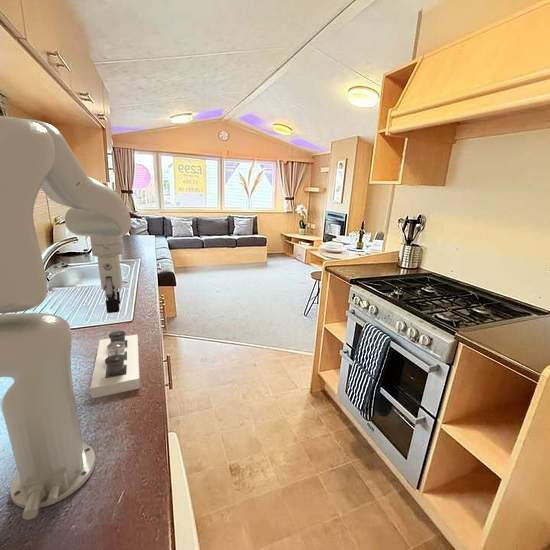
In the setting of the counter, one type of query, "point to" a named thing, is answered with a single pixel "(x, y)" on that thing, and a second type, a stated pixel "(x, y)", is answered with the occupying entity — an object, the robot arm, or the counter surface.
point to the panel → (113, 385)
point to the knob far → (117, 336)
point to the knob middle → (116, 348)
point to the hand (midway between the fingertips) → (114, 307)
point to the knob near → (115, 364)
